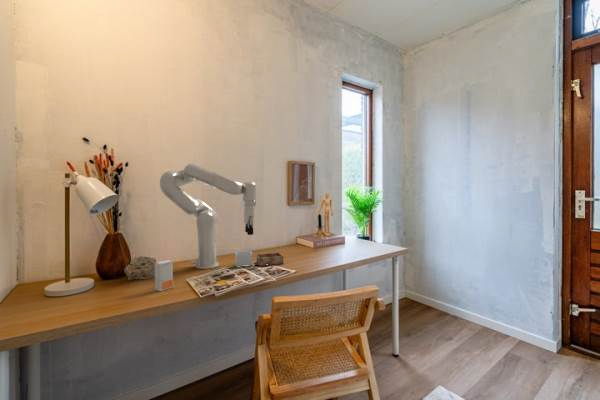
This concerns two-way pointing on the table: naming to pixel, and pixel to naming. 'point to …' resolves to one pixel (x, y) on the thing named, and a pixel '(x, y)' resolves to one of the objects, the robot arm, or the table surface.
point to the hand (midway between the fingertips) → (249, 233)
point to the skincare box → (163, 275)
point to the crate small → (243, 258)
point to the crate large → (270, 259)
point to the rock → (141, 268)
